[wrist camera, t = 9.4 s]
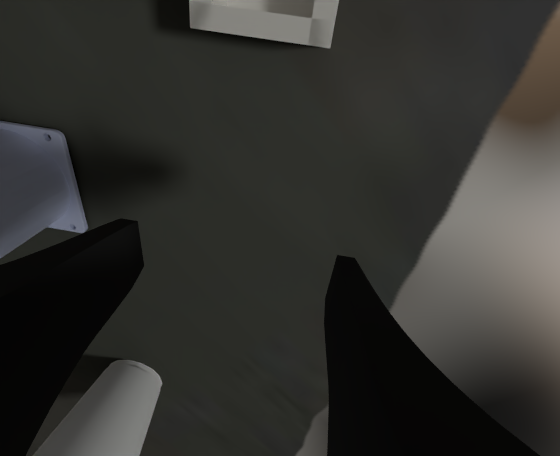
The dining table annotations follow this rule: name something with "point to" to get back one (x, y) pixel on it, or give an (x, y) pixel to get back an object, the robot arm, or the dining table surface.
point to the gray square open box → (268, 19)
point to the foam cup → (108, 414)
